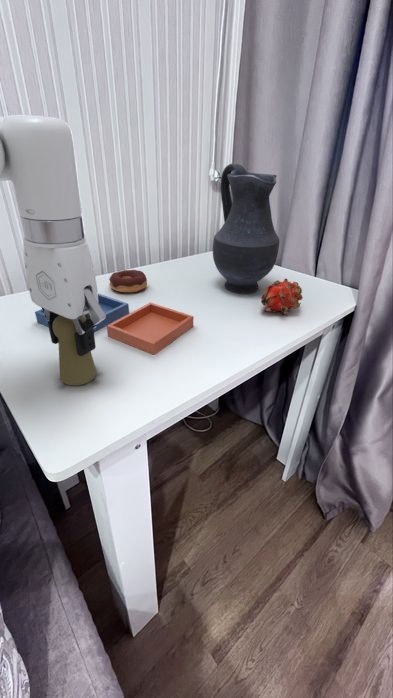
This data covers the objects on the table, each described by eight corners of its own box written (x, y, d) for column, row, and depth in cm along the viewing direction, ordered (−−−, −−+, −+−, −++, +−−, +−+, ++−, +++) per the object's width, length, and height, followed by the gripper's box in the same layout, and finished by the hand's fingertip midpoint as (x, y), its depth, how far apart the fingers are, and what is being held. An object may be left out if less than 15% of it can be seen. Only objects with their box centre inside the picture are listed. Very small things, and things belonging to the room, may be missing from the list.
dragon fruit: (299, 312, 85) (262, 328, 80) (282, 285, 87) (245, 299, 82) (318, 295, 77) (278, 312, 73) (298, 266, 79) (259, 281, 75)
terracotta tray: (153, 355, 63) (153, 344, 62) (107, 336, 68) (106, 325, 67) (193, 326, 73) (193, 316, 72) (150, 311, 78) (150, 302, 77)
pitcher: (233, 304, 83) (248, 170, 67) (192, 277, 98) (196, 162, 82) (284, 293, 91) (308, 169, 75) (239, 269, 106) (251, 162, 90)
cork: (51, 379, 55) (38, 320, 49) (75, 360, 60) (66, 305, 54) (81, 389, 53) (71, 329, 47) (104, 369, 58) (97, 312, 52)
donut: (102, 291, 87) (100, 276, 85) (120, 278, 95) (119, 265, 93) (137, 297, 85) (136, 282, 83) (152, 283, 93) (152, 270, 91)
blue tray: (78, 340, 66) (76, 329, 65) (37, 322, 72) (34, 311, 71) (129, 313, 77) (128, 303, 76) (89, 299, 83) (88, 289, 81)
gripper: (-12, 223, 45) (19, 339, 54) (76, 248, 37) (94, 376, 47) (37, 215, 50) (57, 322, 60) (122, 236, 43) (129, 353, 53)
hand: (73, 345), depth 53 cm, fingers closed on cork, 5 cm apart
